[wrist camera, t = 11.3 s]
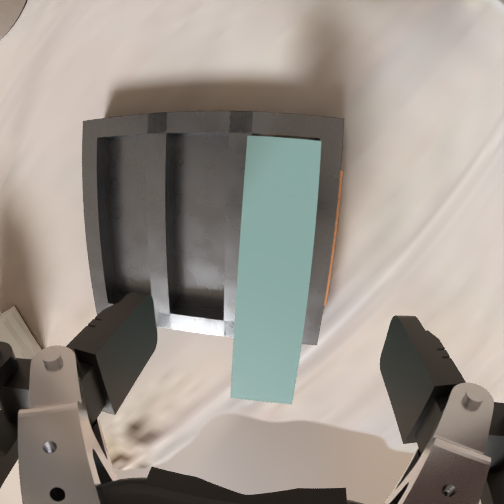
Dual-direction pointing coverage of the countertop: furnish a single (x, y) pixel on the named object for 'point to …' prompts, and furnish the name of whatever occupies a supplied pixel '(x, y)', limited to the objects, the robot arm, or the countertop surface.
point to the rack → (191, 210)
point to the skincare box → (17, 334)
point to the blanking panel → (274, 265)
